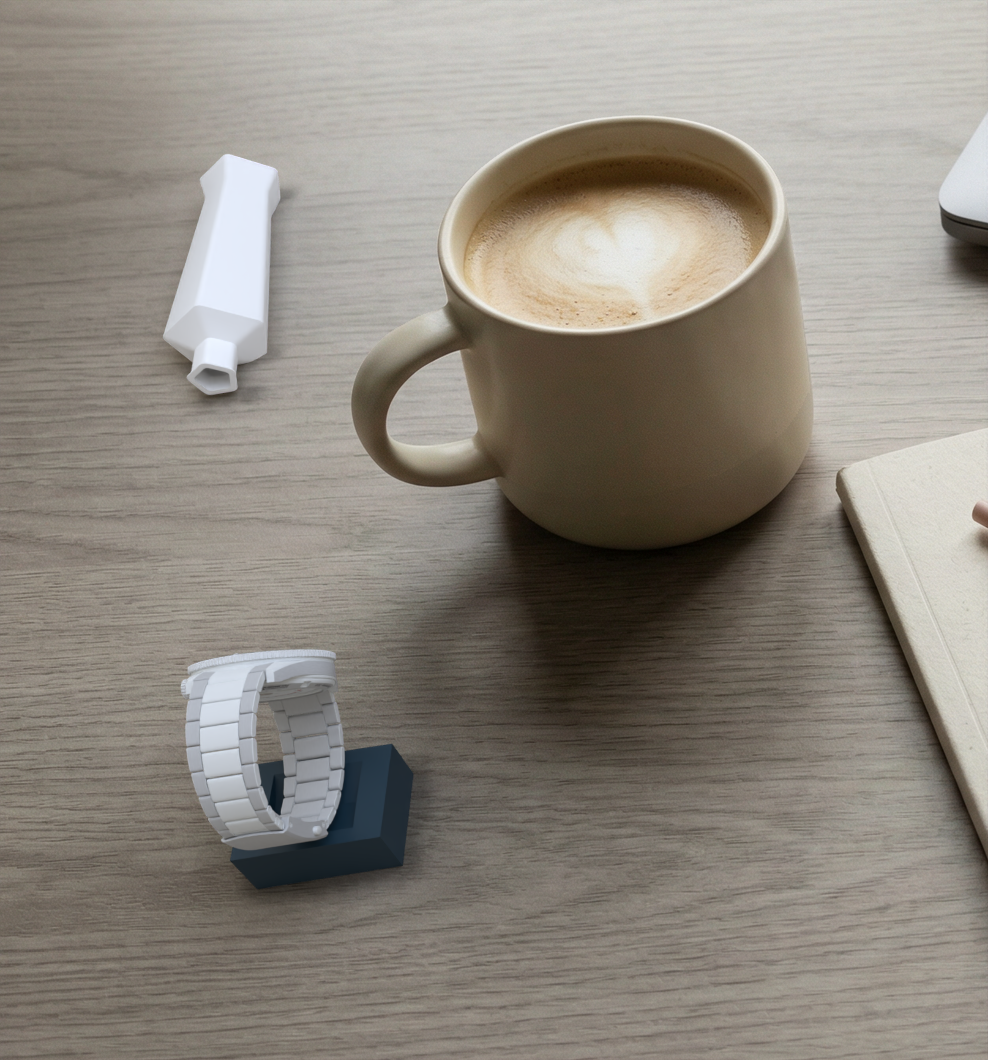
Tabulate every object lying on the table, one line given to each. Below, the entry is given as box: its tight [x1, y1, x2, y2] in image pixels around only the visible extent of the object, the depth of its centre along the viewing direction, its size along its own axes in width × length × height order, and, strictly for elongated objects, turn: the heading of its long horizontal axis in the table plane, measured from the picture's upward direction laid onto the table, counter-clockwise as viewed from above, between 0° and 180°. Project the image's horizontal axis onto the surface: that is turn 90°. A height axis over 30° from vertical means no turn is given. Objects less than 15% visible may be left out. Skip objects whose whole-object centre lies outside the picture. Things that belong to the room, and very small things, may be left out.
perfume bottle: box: [162, 153, 282, 396], centre depth 87 cm, size 5×4×15 cm
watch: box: [180, 648, 415, 890], centre depth 65 cm, size 6×8×11 cm
